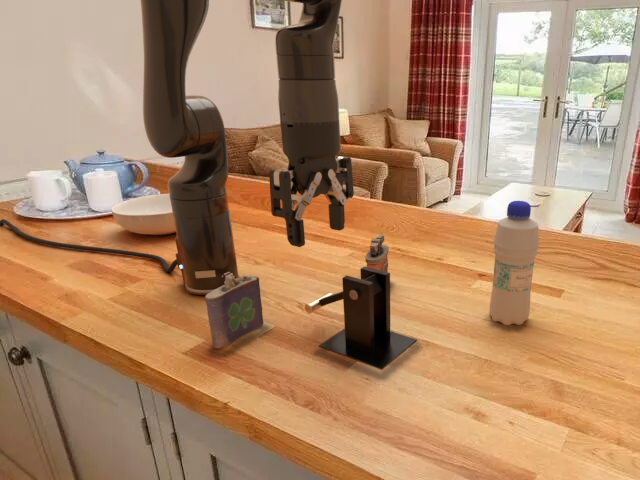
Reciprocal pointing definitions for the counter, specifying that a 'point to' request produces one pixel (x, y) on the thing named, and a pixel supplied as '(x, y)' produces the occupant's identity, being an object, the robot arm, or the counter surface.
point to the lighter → (377, 254)
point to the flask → (234, 309)
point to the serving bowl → (146, 215)
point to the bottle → (514, 264)
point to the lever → (338, 296)
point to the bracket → (368, 323)
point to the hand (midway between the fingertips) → (318, 237)
